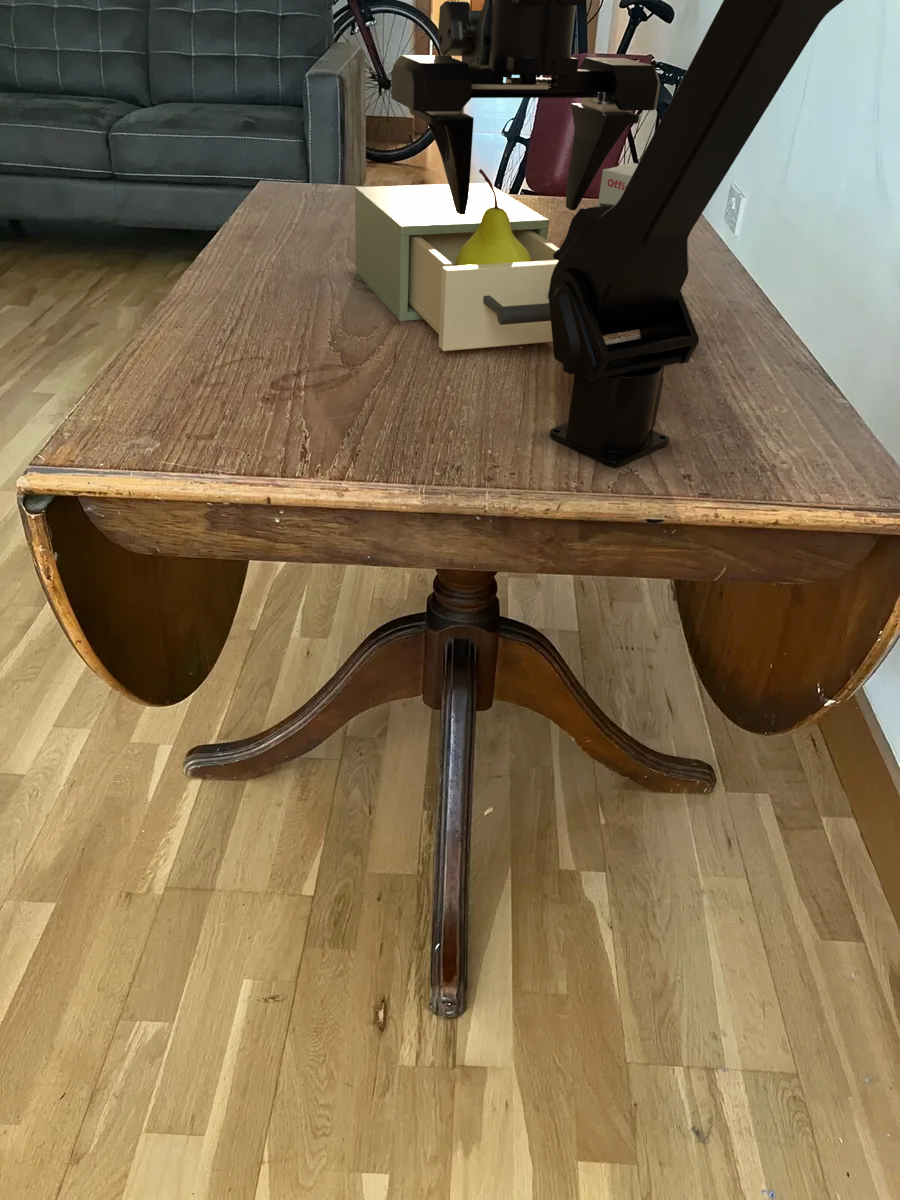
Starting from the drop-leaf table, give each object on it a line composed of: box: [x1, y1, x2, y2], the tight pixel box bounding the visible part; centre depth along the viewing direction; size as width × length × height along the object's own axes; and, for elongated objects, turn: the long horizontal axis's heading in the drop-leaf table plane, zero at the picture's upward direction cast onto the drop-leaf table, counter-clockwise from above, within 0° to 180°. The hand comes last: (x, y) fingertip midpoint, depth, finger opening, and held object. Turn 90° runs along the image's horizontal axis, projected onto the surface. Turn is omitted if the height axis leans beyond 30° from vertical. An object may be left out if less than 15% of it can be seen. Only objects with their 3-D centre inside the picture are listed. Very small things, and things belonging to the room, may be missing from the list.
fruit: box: [455, 168, 531, 266], centre depth 83 cm, size 7×7×12 cm
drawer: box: [408, 230, 560, 352], centre depth 84 cm, size 19×13×7 cm
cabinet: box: [354, 182, 550, 322], centre depth 94 cm, size 16×15×9 cm
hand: (516, 211), depth 72 cm, fingers open, 9 cm apart
